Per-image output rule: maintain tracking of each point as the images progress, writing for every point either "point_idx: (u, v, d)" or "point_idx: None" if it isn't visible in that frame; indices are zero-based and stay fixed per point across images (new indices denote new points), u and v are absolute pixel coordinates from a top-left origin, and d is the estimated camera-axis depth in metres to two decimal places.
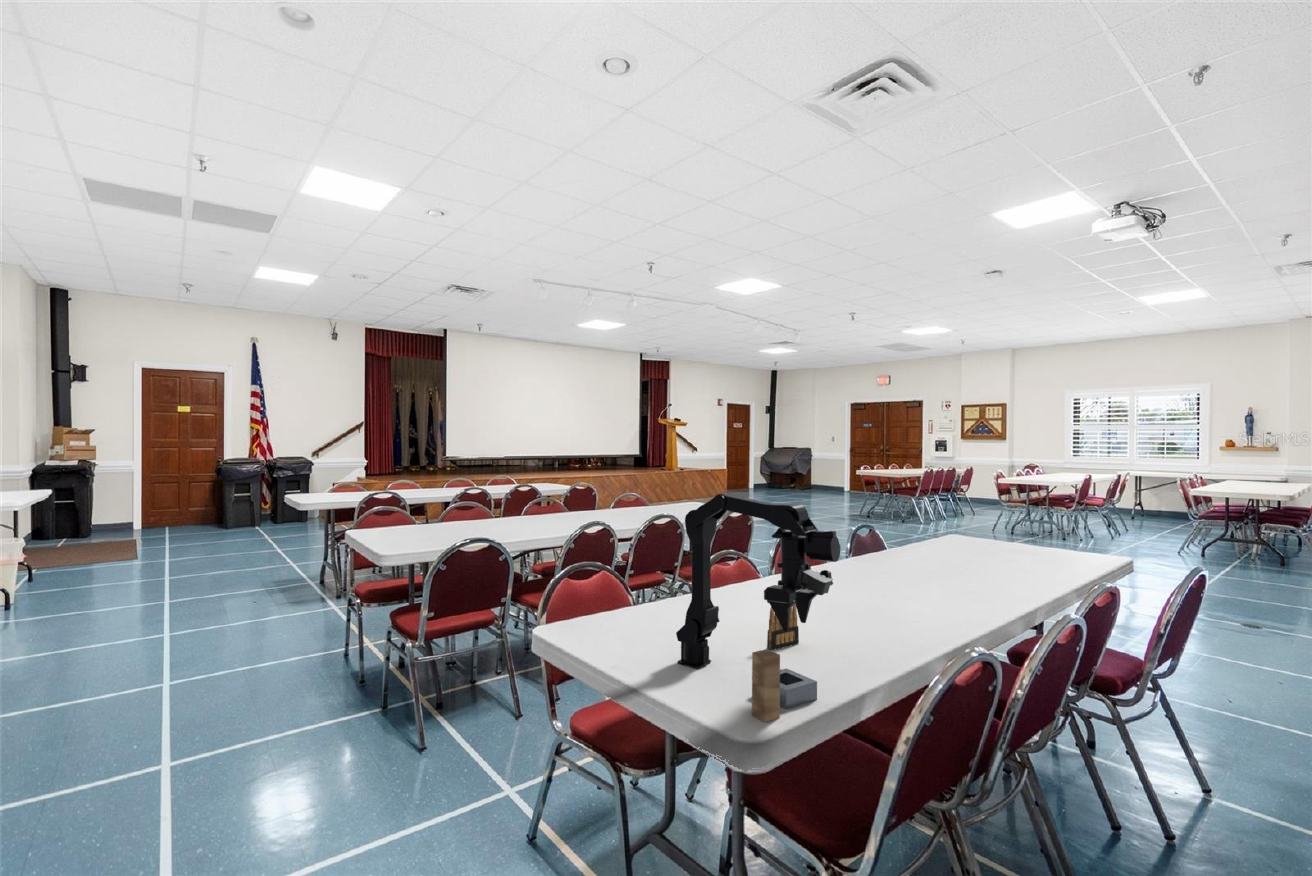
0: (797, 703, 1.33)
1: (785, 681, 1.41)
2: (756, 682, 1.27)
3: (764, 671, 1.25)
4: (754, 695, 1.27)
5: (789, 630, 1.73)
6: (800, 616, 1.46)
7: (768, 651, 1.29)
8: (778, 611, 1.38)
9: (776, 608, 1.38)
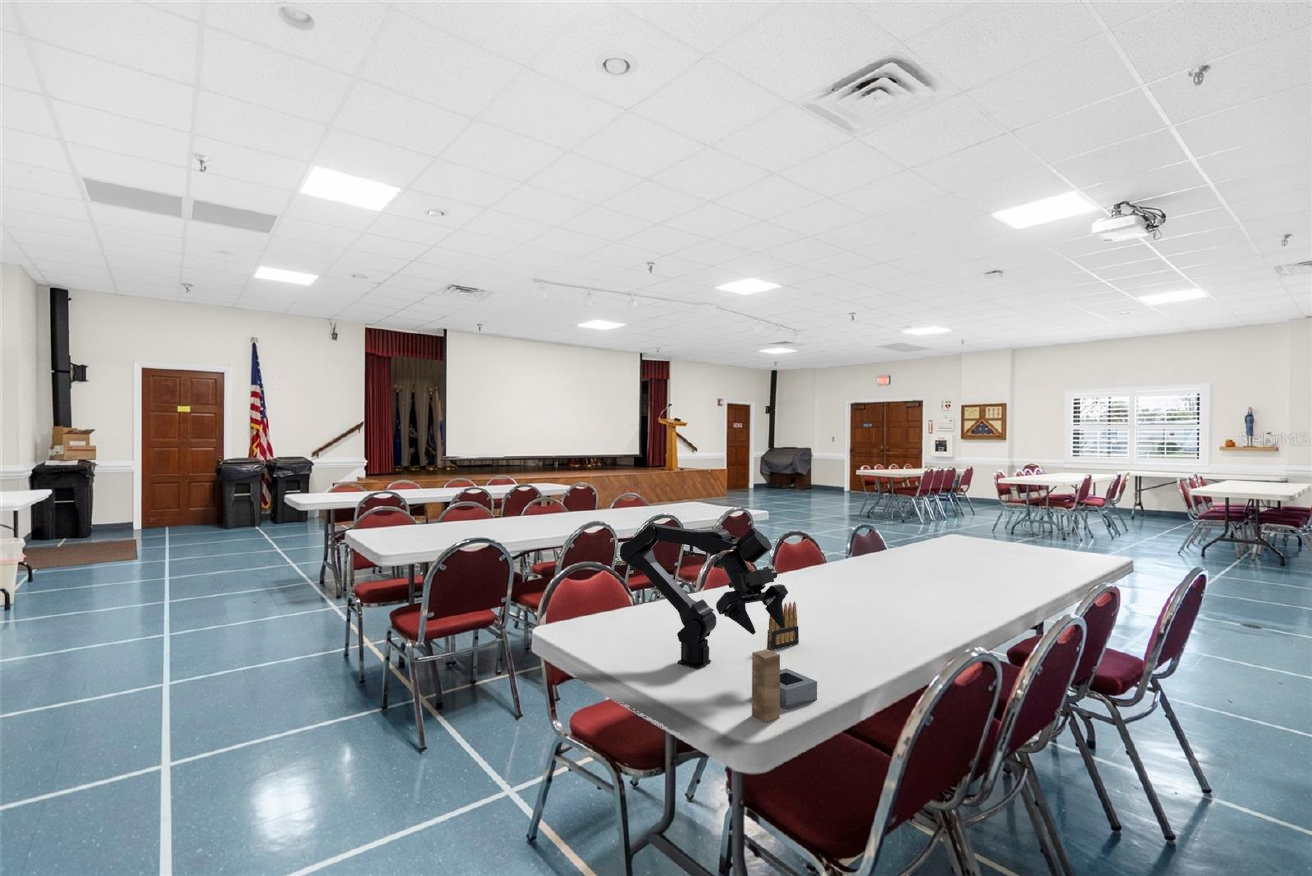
0: (797, 703, 1.33)
1: (785, 681, 1.41)
2: (756, 682, 1.27)
3: (764, 671, 1.25)
4: (754, 695, 1.27)
5: (789, 630, 1.73)
6: (778, 623, 1.46)
7: (768, 651, 1.29)
8: (738, 619, 1.42)
9: (736, 617, 1.43)
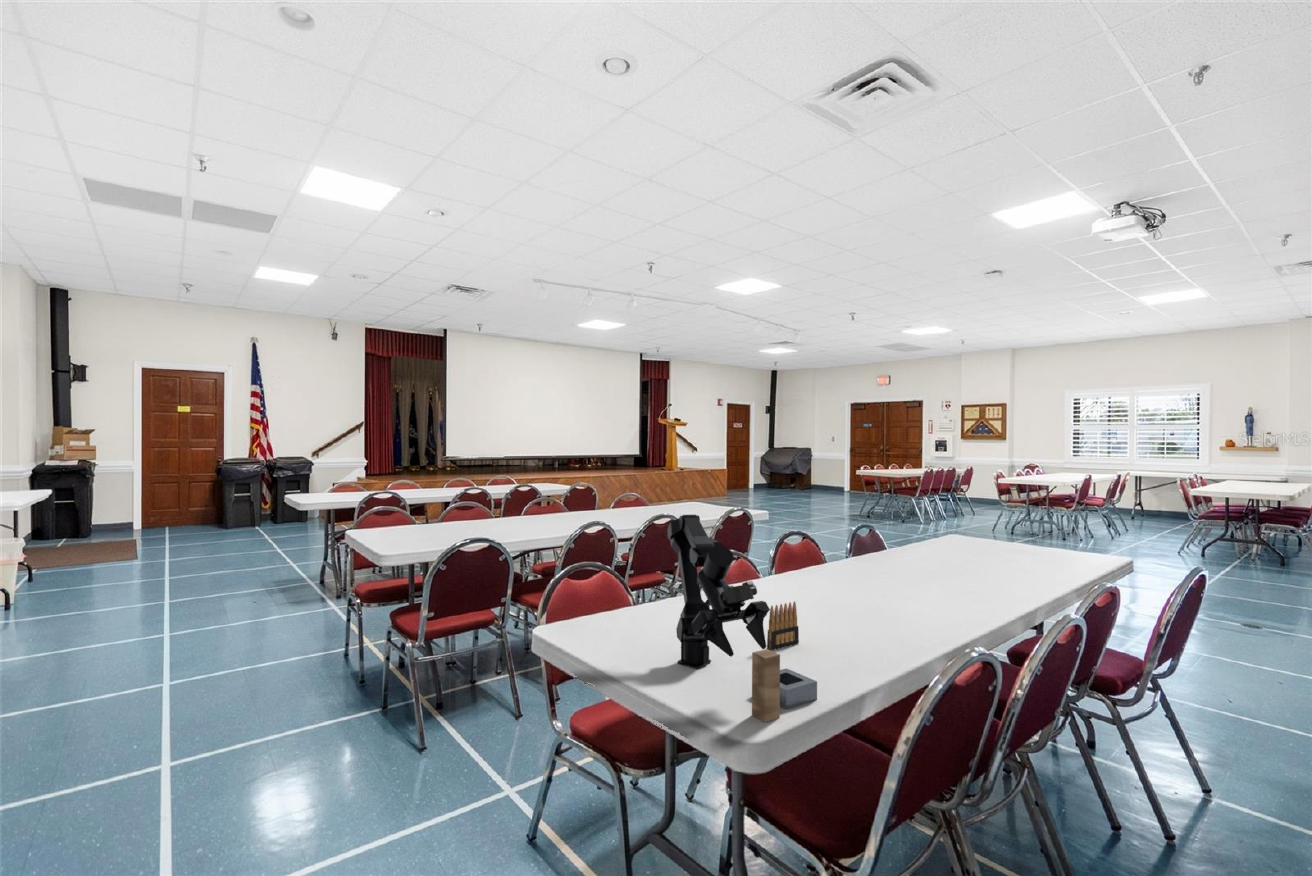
0: (797, 703, 1.33)
1: (785, 681, 1.41)
2: (756, 682, 1.27)
3: (764, 671, 1.25)
4: (754, 695, 1.27)
5: (789, 630, 1.73)
6: (759, 643, 1.35)
7: (768, 651, 1.29)
8: (715, 640, 1.32)
9: (712, 638, 1.32)
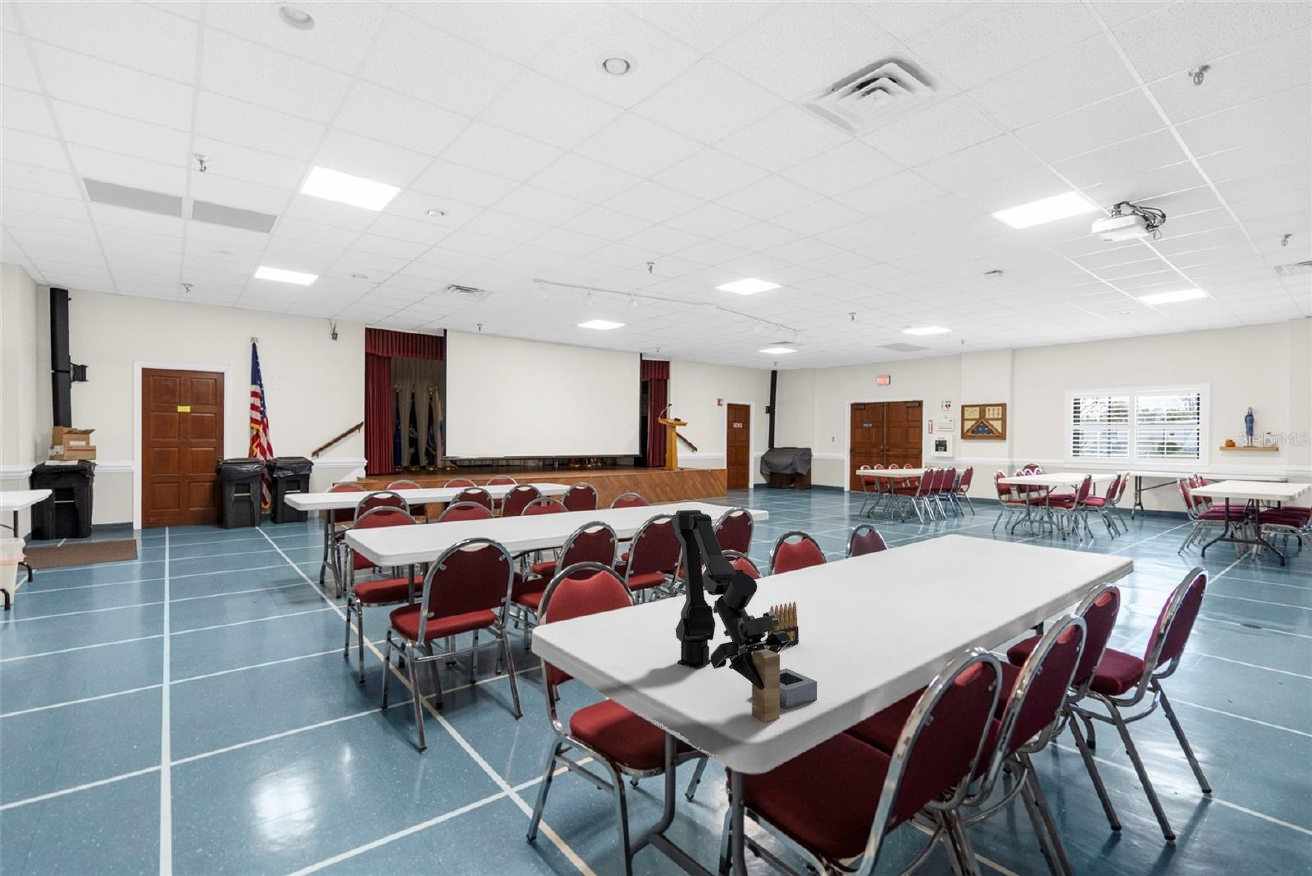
0: (797, 703, 1.33)
1: (785, 681, 1.41)
2: None
3: (764, 671, 1.25)
4: (754, 695, 1.27)
5: (789, 630, 1.73)
6: None
7: (768, 650, 1.29)
8: (745, 672, 1.28)
9: (741, 670, 1.28)
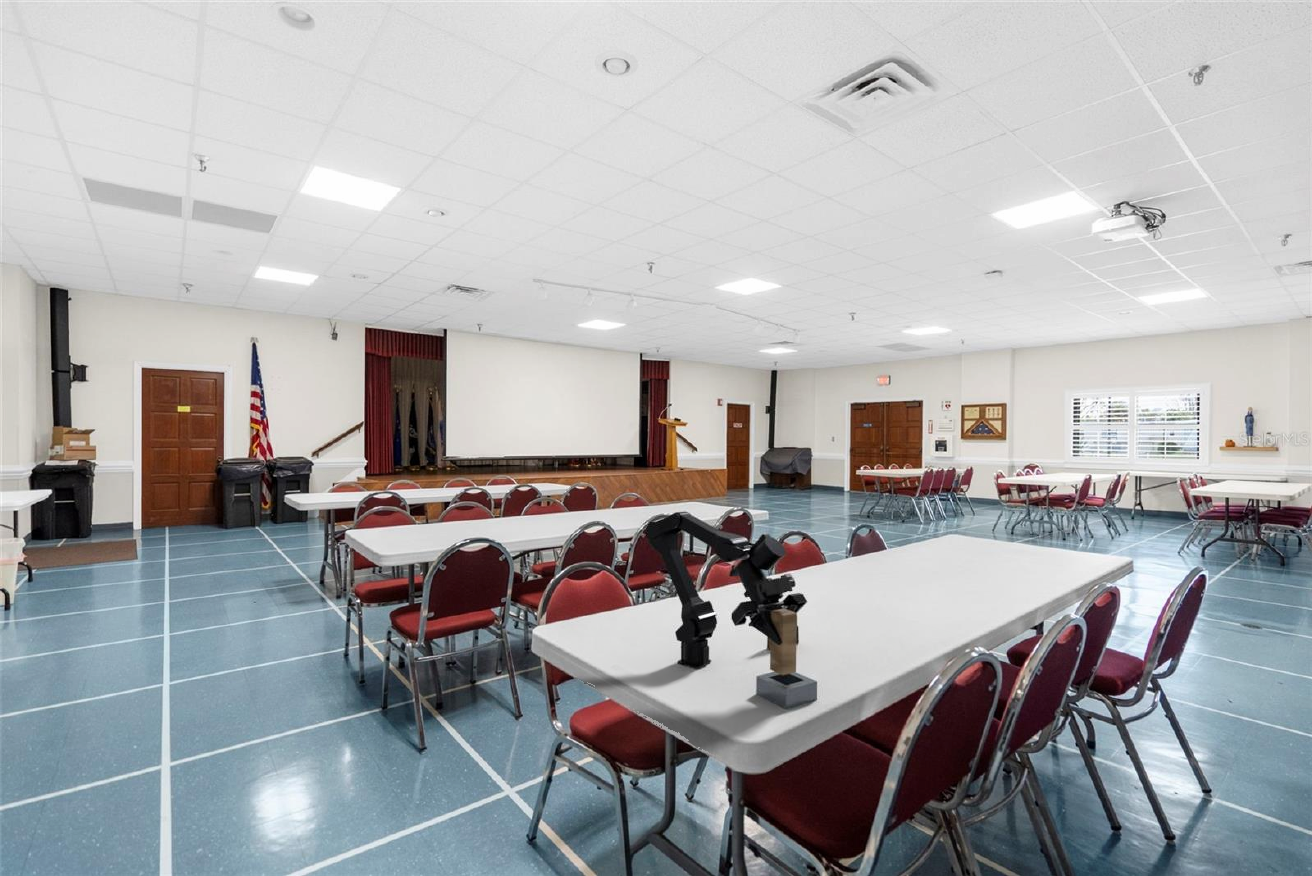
0: (797, 703, 1.33)
1: (785, 681, 1.41)
2: None
3: (782, 627, 1.34)
4: (772, 650, 1.36)
5: None
6: None
7: (785, 610, 1.38)
8: (764, 629, 1.37)
9: (760, 627, 1.37)
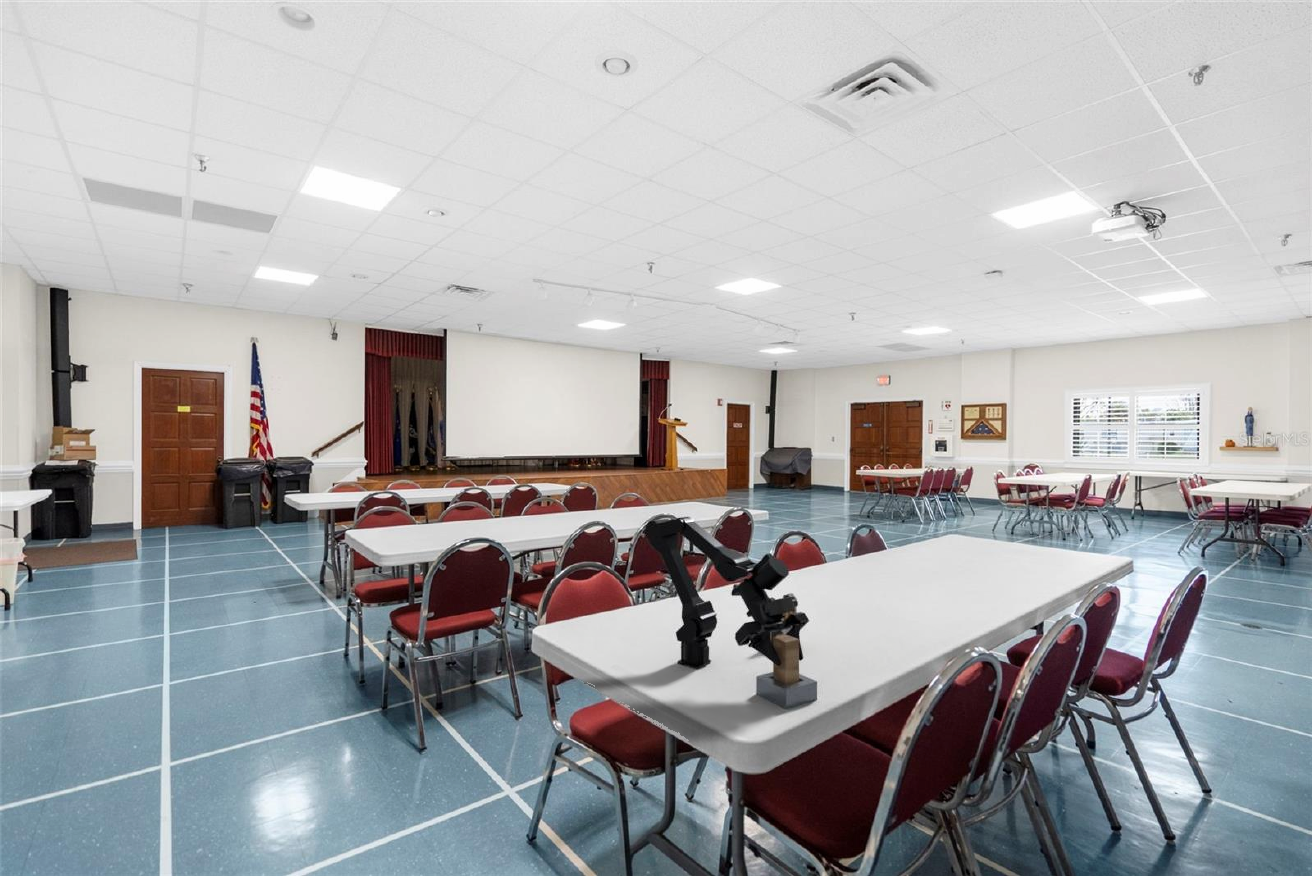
0: (797, 703, 1.33)
1: None
2: None
3: (785, 654, 1.35)
4: (776, 677, 1.37)
5: None
6: None
7: (788, 636, 1.39)
8: (763, 650, 1.37)
9: (760, 648, 1.38)
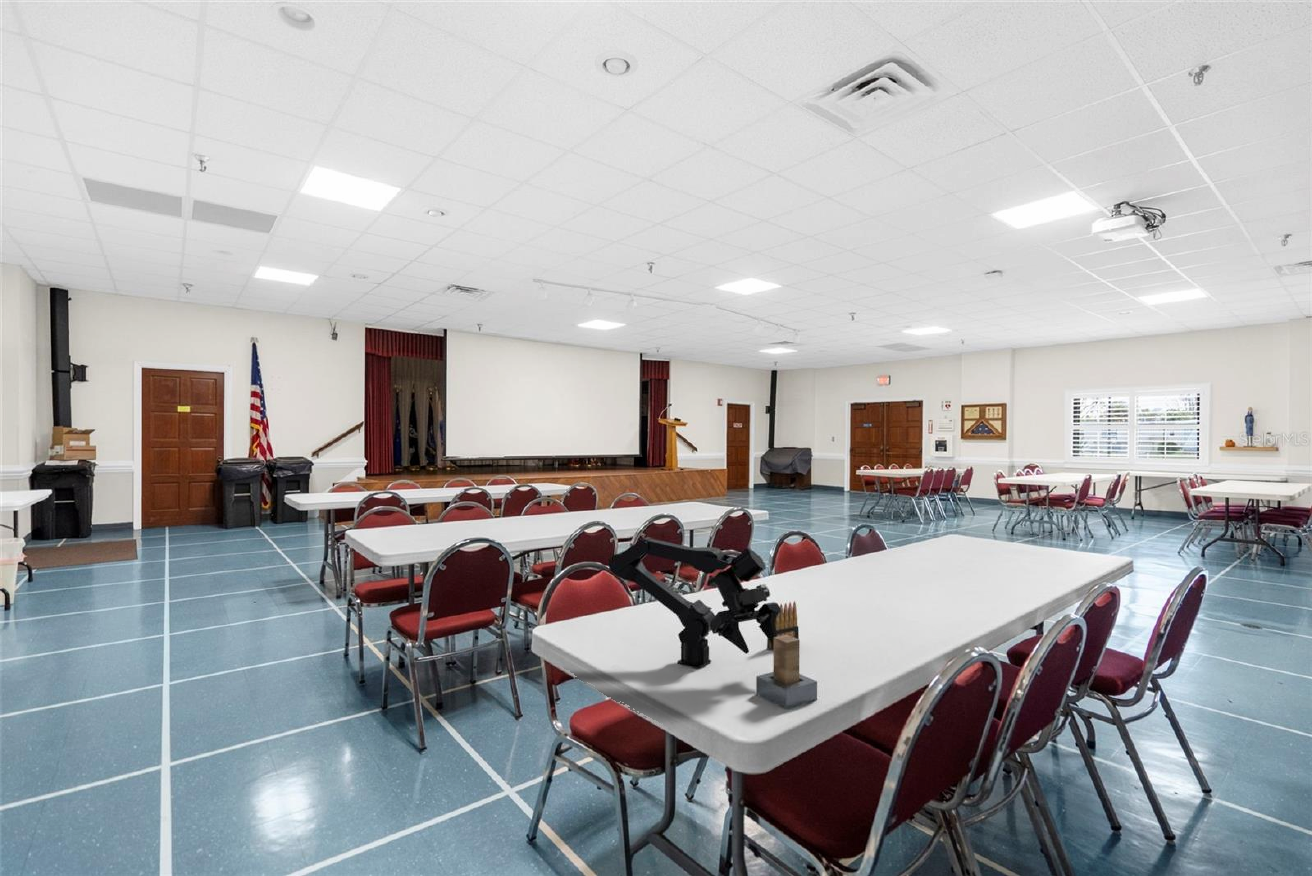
0: (797, 703, 1.33)
1: None
2: (777, 665, 1.37)
3: (785, 654, 1.35)
4: (776, 677, 1.37)
5: (789, 630, 1.73)
6: (772, 642, 1.48)
7: (788, 636, 1.39)
8: (732, 638, 1.44)
9: (729, 637, 1.45)
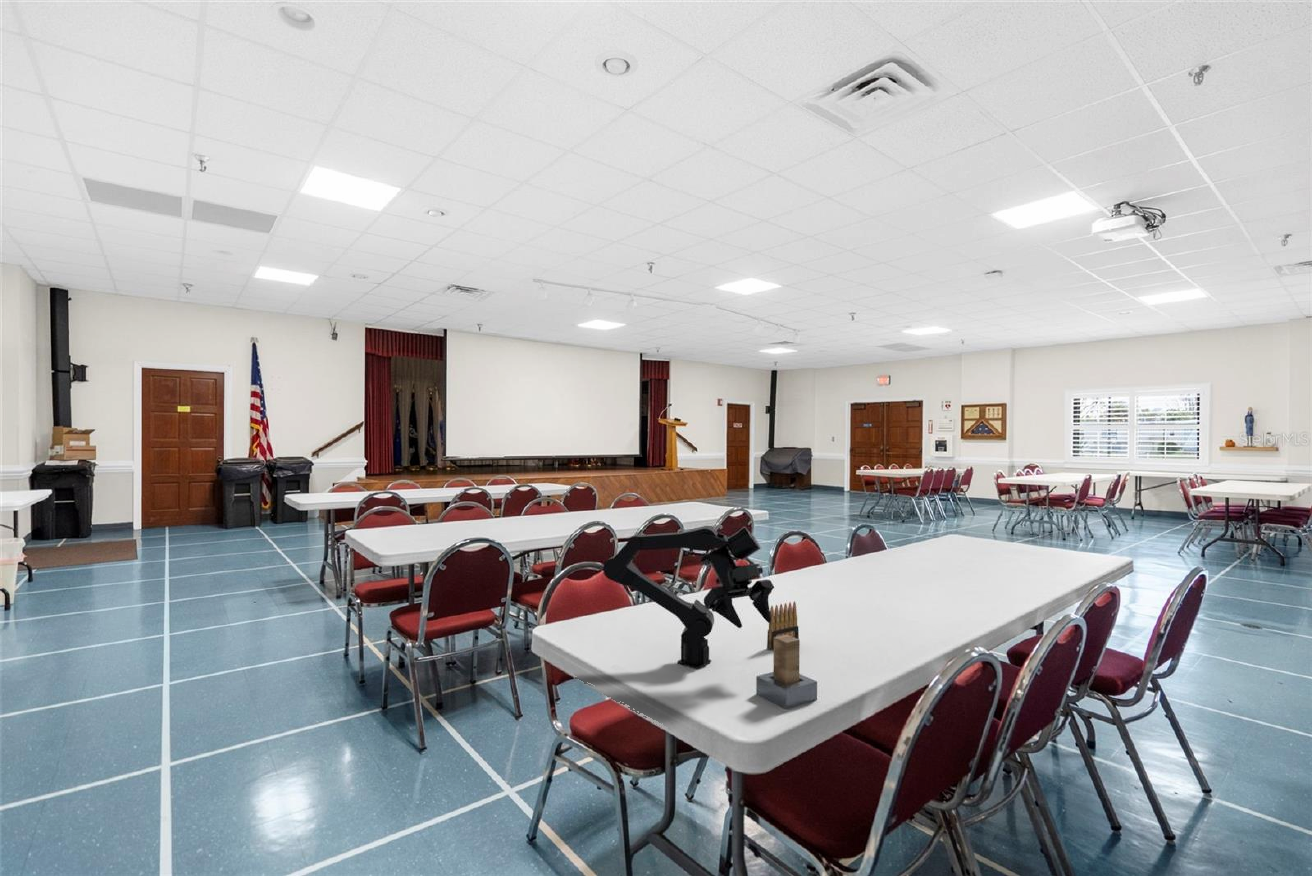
0: (797, 703, 1.33)
1: None
2: (777, 665, 1.37)
3: (785, 654, 1.35)
4: (776, 677, 1.37)
5: (789, 630, 1.73)
6: (765, 617, 1.50)
7: (788, 636, 1.39)
8: (725, 614, 1.46)
9: (723, 612, 1.47)
